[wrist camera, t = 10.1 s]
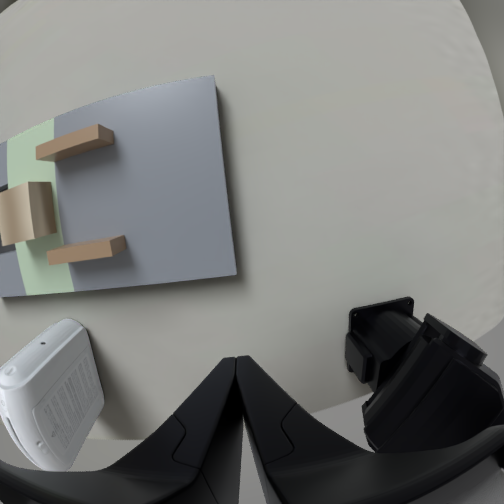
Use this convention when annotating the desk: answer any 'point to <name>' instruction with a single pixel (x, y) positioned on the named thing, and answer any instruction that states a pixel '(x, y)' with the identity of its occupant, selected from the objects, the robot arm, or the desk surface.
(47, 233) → the birch block
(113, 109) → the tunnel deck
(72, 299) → the desk surface
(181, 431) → the robot arm
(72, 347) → the photo printer
